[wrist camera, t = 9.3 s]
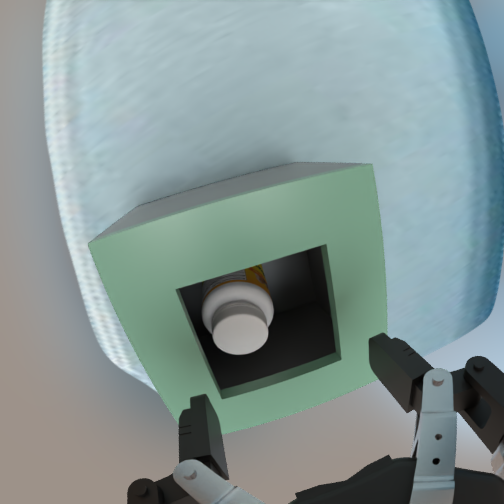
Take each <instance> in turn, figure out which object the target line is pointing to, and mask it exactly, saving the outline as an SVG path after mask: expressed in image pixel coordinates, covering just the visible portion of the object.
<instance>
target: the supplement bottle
mask: <svg viewBox="0 0 504 504" xmlns="http://www.w3.org/2000/svg"><path fill="white" fill-rule="evenodd" d="M201 314H202V320H203V323H204V325H205V327H206V328H207V329H208V331H209V332H210V333H212V336H213V341H214V343H215V344H216V346H217V347H218V348H220V349H221V350H222V351H224V352H227V353H230V354H236V355H240V354H248V353H251V352H254V351H256V350H257V349H259V348H260V347H261V346H263V345H264V343H265V342H266V340H267V338H268V327H269V325H270V323H271V321H272V319H273V314H274V308H273V302H272V299H271V296H270V292H269V289H268V285H267V282H266V278H265V275H264V271H263V268H262V265H261V264H259V265H256V266H252V267H249V268H246V269H242V270H239V271H236V272H232V273H229V274H226V275H222V276H219V277H216V278H212V279H209V280H205V281H203V284H202V308H201Z"/></svg>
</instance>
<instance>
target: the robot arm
mask: <svg viewBox="0 0 504 504" xmlns="http://www.w3.org/2000/svg"><path fill="white" fill-rule="evenodd" d="M368 343H369V364H370V367H371V369H372V371H373V373H374V374H375V375H376V376H377V377H378V379H379V380H380V381H381V382H382V384H383V385H384V386H385V387H386V388H387V390H388V391H389V392H390V393H391V394H392V396H393V397H394V398H395V399H396V400H397V401H398V403H399V404H400V405H401V407H402V408H403V409H404V410H405V411H406V413H408V412H410V411H412V410H415V411H416V412H417V415H416V422H415V431H414V438H413V445H412V450H411V455H410V457H404V458H396V459H391V457H390V456H389V455H387V456H385V457H383V458H381V459H379V460H377V461H375V462H373V463H371V464H369V465H367V466H366V467H364V468H363V469H362V470H360V471H359V472H357V473H356V474H355V475H353V476H352V477H351V478H349V479H348V480H345V481H341V482H336V483H330V484H324V485H318V486H315V487H313V488H310V489H307V490H304V491H301V492H298V493H295V495H296V497H297V499H295V500H293V501H292V502H290V503H289V504H504V373H503V372H502V371H501V370H499V369H498V368H497V367H496V366H495V365H494V364H493V363H491V361H489V360H488V359H487V358H485V357H482V356H475V357H472V358H470V359H469V360H468V361H467V363H466V366H465V368H463V369H459V370H457V371H453V372H448V371H447V370H445V369H441V368H436V369H434V368H433V367H432V366H431V365H430V364H429V363H428V362H426V360H424V359H423V358H422V357H421V356H420V355H419V354H418V353H416V351H415V350H414V349H412V348H411V347H410V346H409V345H408V344H407V343H406V342H405V341H403V340H400V339H398V338H393V339H390V338H389V337H388V336H387V335H386V334H385V333H383V332H382V333H380V334H378V335H375V336H373V337H371V338H369V341H368ZM457 412H458V413H459V414H460V415H461V416H462V417H463V419H465V421H466V422H467V423H468V425H469V426H470V427H471V428H472V429H473V431H474V432H475V433H476V434H477V435H478V437H479V438H480V439H481V440H482V442H483V443H484V444H485V445H486V447H487V448H488V449H489V450H490V452H491V453H492V454H493V455H492V458H491V465H492V467H493V471H494V472H495V474H492V473H486V472H480V471H473V470H468V469H462V468H457V467H455V456H456V455H455V454H456V434H457V414H456V413H457ZM225 480H229V475H228V470H227V463H226V458H225V452H224V446H223V439H222V433H221V426H220V422H219V418H218V416H217V413H216V412H215V410H214V408H213V406H212V404H211V402H210V400H209V398H208V396H207V394H201V395H197V396H193V397H190V408H189V409H184V410H182V413H181V415H180V417H179V464H178V465H177V466H176V467H175V469H174V471H173V473H172V474H171V475H170V476H168V477H165V478H163V479H161V480H158V481H156V482H153V481H152V480H150V479H146V478H143V479H138V480H136V481H134V482H133V483H132V484H131V485H130V486H129V488H128V492H127V497H128V499H127V504H265V503H263V502H262V501H260V500H259V499H257V498H255V497H254V496H252V495H251V494H249V493H247V492H246V491H244V490H243V489H241V488H239V487H237V486H236V487H235V486H233V485H231V484H230V483H228V482H227V481H225Z"/></svg>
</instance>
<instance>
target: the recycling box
mask: <svg viewBox="0 0 504 504" xmlns="http://www.w3.org/2000/svg"><path fill="white" fill-rule="evenodd" d="M88 246H89V249H90V252H91V254H92V257H93V260H94V262H95V265H96V267H97V270H98V272H99V275H100V277H101V280H102V282H103V285H104V287H105V289H106V292H107V294H108V296H109V299H110V301H111V303H112V305H113V307H114V310H115V312H116V314H117V316H118V318H119V320H120V322H121V325H122V327H123V329H124V331H125V333H126V335H127V337H128V339H129V341H130V343H131V345H132V346H133V348H134V350H135V352H136V354H137V356H138V358H139V360H140V362H141V363H142V365H143V367H144V369H145V371H146V372H147V374H148V376H149V378H150V379H151V381H152V383H153V385H154V386H155V388H156V390H157V391H158V393H159V395H160V396H161V398H162V400H163V401H164V403H165V404H166V406H167V407H168V409H169V411H170V412H171V414H172V415H173V417H174V418H175V420H176V422H177V423H178V425H179V417H180V415H181V413H182V410H184V409H189V408H190V397H193V396H197V395H201V394H207V396H208V398H209V400H210V402H211V404H212V406H213V408H214V410H215V412H216V413H217V416H218V418H219V422H220V426H221V433H222V434H227V433H231V432H235V431H238V430H242V429H246V428H249V427H253V426H257V425H260V424H264V423H267V422H270V421H273V420H277V419H280V418H283V417H286V416H289V415H292V414H295V413H298V412H300V411H303V410H306V409H309V408H312V407H314V406H317V405H320V404H322V403H325V402H327V401H330V400H332V399H335V398H337V397H339V396H342V395H344V394H347V393H349V392H351V391H354V390H356V389H358V388H360V387H363V386H365V385H367V384H369V383H371V382H373V381H376V380H378V377H377V376H376V375H375V374H374V373H373V371H372V369H371V367H370V364H369V343H368V341H369V338H371V337H373V336H375V335H378V334H380V333H382V332H383V333H385V334H386V335H387V293H386V273H385V259H384V247H383V237H382V227H381V219H380V211H379V203H378V196H377V189H376V183H375V177H374V171H373V165H372V164H362V163H329V162H294V163H290V164H285V165H281V166H277V167H273V168H269V169H265V170H261V171H257V172H253V173H249V174H245V175H241V176H237V177H233V178H230V179H226V180H222V181H219V182H215V183H212V184H208V185H205V186H201V187H198V188H194V189H191V190H188V191H184V192H181V193H178V194H174V195H171V196H168V197H165V198H162V199H159V200H155V201H152V202H149V203H146V204H143V205H140V206H137V207H135V208H134V209H133V210H131V211H130V212H129V213H127V214H126V215H124V216H123V217H122V218H120V219H119V220H118V221H116V222H115V223H114V224H112V225H111V226H110V227H108V228H107V229H106V230H105V231H103V232H102V233H101V234H99V235H98V236H97V237H95V238H94V239H93V240H92V241H90V242H89V243H88ZM259 264H261V265H262V268H263V271H264V275H265V278H266V282H267V285H268V289H269V292H270V296H271V299H272V302H273V308H274V314H273V319H272V321H271V323H270V325H269V327H268V338H267V340H266V342H265V343H264V345H263V346H261V347H260V348H259V349H257V350H256V351H254V352H251V353H248V354H240V355H236V354H230V353H227V352H224V351H222V350H221V349H220V348H218V347H217V346H216V344H215V343H214V341H213V336H212V333H210V332H209V331H208V329H207V328H206V327H205V325H204V323H203V320H202V314H201V308H202V284H203V281H205V280H209V279H212V278H216V277H219V276H222V275H226V274H229V273H232V272H236V271H239V270H242V269H246V268H249V267H252V266H256V265H259Z"/></svg>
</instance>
